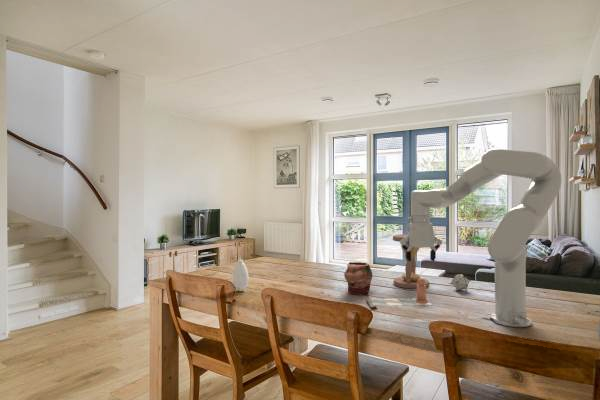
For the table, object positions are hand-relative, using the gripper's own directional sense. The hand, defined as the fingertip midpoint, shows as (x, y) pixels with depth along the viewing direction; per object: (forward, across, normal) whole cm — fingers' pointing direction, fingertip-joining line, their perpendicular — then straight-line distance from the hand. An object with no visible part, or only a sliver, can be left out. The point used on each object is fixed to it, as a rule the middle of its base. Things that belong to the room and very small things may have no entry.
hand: (420, 260), depth 149 cm
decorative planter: (+19, -23, +21) cm, 36 cm away
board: (+18, -9, 0) cm, 20 cm away
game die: (+18, +25, +22) cm, 38 cm away
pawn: (+17, 0, 0) cm, 17 cm away
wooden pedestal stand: (+19, +5, +34) cm, 39 cm away
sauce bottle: (+19, -81, +24) cm, 86 cm away
